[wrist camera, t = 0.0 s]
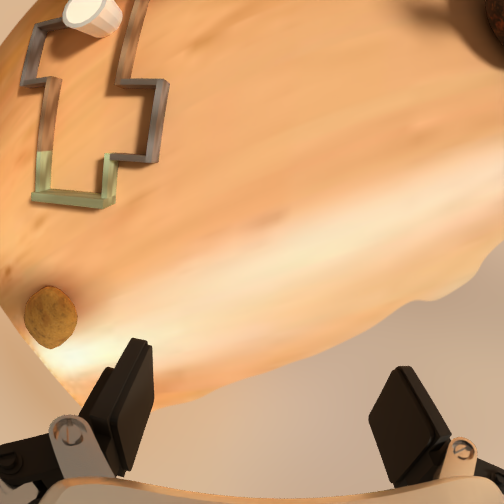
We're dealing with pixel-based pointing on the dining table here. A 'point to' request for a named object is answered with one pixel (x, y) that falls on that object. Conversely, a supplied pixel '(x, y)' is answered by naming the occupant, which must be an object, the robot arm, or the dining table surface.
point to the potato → (50, 317)
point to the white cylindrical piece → (93, 16)
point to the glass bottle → (496, 17)
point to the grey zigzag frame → (50, 111)
